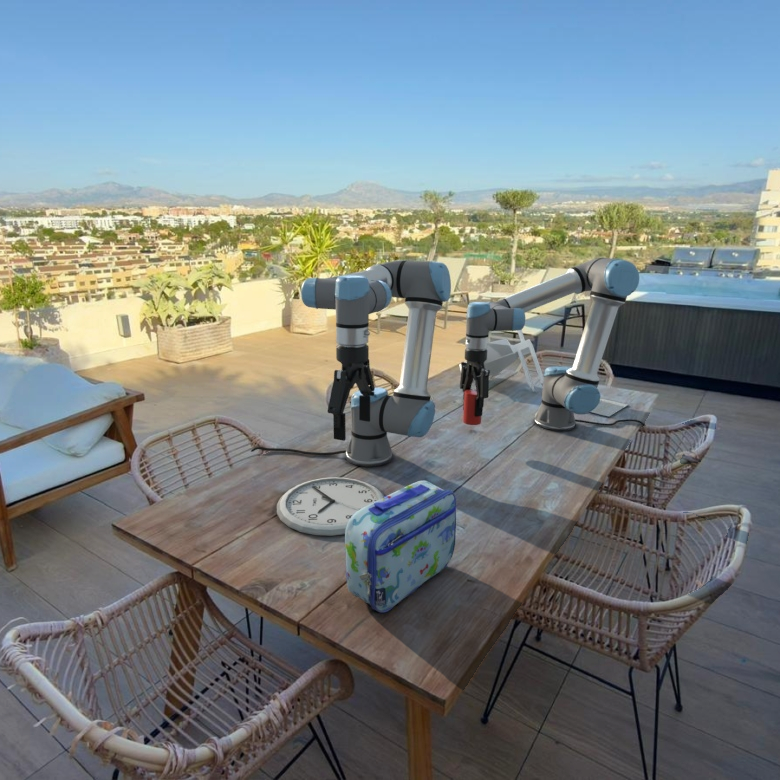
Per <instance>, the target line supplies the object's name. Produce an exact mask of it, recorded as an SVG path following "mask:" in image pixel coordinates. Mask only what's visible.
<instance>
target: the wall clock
mask: <svg viewBox="0 0 780 780" xmlns="http://www.w3.org/2000/svg"><path fill="white" fill-rule="evenodd" d="M384 497H386V495H385V494H384V493H383V492H382V491H381V490H380V489H379V488H377V487H376V486H374V485H372V484H371V483H369V482H365V481H362V480H359V479H355V478H349V477H338V476H337V477H335V476H333V477H332V476H331V477H322V478H317V479H312V480H307V481H305V482H302V483H299V484H297V485H295V486H293V487H292V488H290V489H288V490H287V491H286V492H285V493H284V494H283V495H281V496H280V498H279V499H278V502H277V503H276V515H277V517H278V518H279V520H280V521H281V522H282V523H283V524H285V525H286V526H287V527H288V528H290V529H293V530H295V531H297V532H299V533H303V534H308V535H312V536H327V537H328V536H329V537H331V536H332V537H333V536H342V535H345V531H346V527H347V524H348V522H349V520H350V518H351V517H352V515H353V514H354V513H355V512H357V511H358V510H360V509H362V508H364V507H366V506H368V505H370V504H372V503H374V502H376V501H378V500H380V499H382V498H384Z"/></svg>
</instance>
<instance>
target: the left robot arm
mask: <svg viewBox="0 0 780 780" xmlns="http://www.w3.org/2000/svg"><path fill="white" fill-rule="evenodd" d="M451 292H452V280H451V275H450V270H449V268H448V266H447V265H446V264H445V263H444V262H439V261H433V260H404V259H398V260H392V261H387V262H382V263H378V264H373V265H370V266H369V267H368V268H367V269H365V270H360V271H357V272H351V273H345V274H339V275H336V276H330V277H326V278H325V277H323V278H320V277H309V278H306V279H305V280H304V281H303V283H302V285H301V288H300V298H301V301H302V303H303V305H304V306H306V307H307V308H312V309H316V310H318V309H319V310H320V309H322V310H335V342H336V344H337V345H336V346H335V357H336V358H335V359H336V361H337V362H338V363H340V364H341V367H340V368H341V369H334V371H333V383H332V387H331V392H330V397H329V402H328V407H327V414H332V416H333V418H332V419H333V440H337V441H343V442H345V441H346V440H347V439H346V437H347V435H346V433H347V432H346V412H344V411H345V409H346V405H347V402H348V399H349V396H350V393H351V390H352V389H353V388H354V387H355V385H356V387H357V388H358V390H356V391H355V392H354V393H352V395H351V399H350V426H351V427H350V431H351V432H350V438H349V441H348V444H347V447H346V449H344V450H338V451H331V452H328V451H327V452H314V451H305V450H300V449H295V448H281V447H280V448H279V447H264V446H256V447H252V449H250V452H251V453H252V452H255V451H257V450H262V451H266V452H292V453H298V454H303V455H310V456H311V455H312V456H335V455H340V454H345V459H346V461H347V462H348V463H349V464H352V465H354V466H358V467H364V468H365V467H366V468H372V467H373V468H375V467H381V466H384V465H386V464H388V463H389V462H391V461H392V459H393V450H392V447H391V444H390V441H389V438H388V433H390V434H396V435H401V436H406V437H409V438H412V437H413V438H423V437H425V436H426V435H427V434H428V432H429V431H430V429H431V427H432V425H433V422H434V418H435V414H436V404H435V402H434V401H433V402H432V400H431V398H432V395H431V393H430V392H429V391H428V388H427V387H428V382H429V373H430V365H431V358H432V351H433V342H434V335H435V329H436V327H435V326H436V319H437V313H438V312H439V311H440V310H442V309H443V303H445V302H448V301H449V300H450V296H451ZM392 298H398V299H404V304H405V306H406V307H407V308H408V315H407V321H406V330H405V337H404V345H403V354H402V360H401V362H402V363H401V368H400V369H401V370H400V377H399V385H398V387H396V388H395V389H393V393H392V395H390V394H389V392H388V389H387V388H385V387H375V384H374V379H373V375H372V371H371V366H370V365H371V364H370V359H369V358H370V357H369V353H370V352H369V351H370V350H369V349H370V347H369V345H368V343H369V336H370V335H371V332H370V331H369V326H370V325H369V323H370V322H369V319H370V317H369V316H370V315H371V314H374V313H380V312H381V311H383V310H384V309H386V308H387V307H388V306H389V305H390V304H391V302H392ZM430 397H431V398H430Z"/></svg>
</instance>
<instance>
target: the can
mask: <svg viewBox="0 0 780 780" xmlns="http://www.w3.org/2000/svg"><path fill="white" fill-rule="evenodd" d="M463 394H464V393H463ZM480 395H481V394H480ZM476 398H477V391H476V388H474V389H473V388H471V389H469V390H466V391H465V394H464V400H463V402H464V410H463V415H462V423H463V424H465V425H469V426H478V425H480V424H482V416H477V417H475V400H476Z"/></svg>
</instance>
